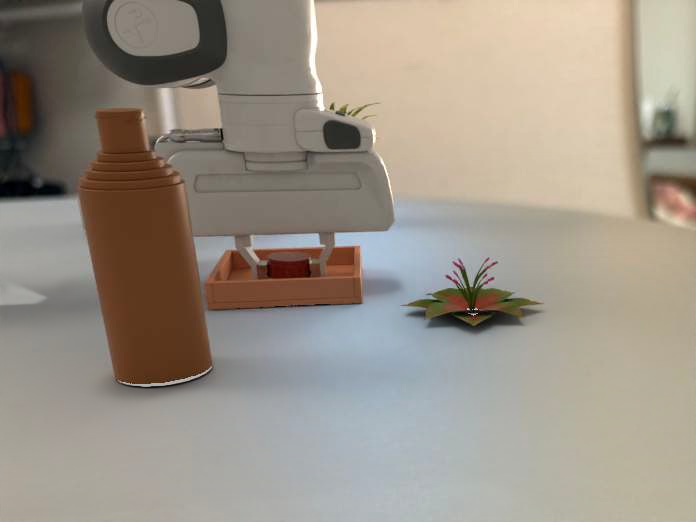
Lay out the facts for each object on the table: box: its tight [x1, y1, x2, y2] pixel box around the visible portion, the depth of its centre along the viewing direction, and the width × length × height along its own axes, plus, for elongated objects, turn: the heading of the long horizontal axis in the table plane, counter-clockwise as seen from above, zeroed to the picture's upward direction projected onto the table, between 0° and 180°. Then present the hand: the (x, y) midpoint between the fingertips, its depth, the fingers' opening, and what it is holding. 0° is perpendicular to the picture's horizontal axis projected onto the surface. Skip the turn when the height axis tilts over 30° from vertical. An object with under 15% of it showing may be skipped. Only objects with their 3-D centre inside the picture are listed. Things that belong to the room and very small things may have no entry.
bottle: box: [76, 107, 213, 384], centre depth 57 cm, size 6×6×18 cm
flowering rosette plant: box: [398, 257, 544, 327], centre depth 73 cm, size 12×12×5 cm
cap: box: [267, 251, 311, 279], centre depth 81 cm, size 4×4×2 cm
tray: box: [203, 245, 363, 311], centre depth 81 cm, size 13×13×2 cm
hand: (291, 280), depth 81 cm, fingers closed on cap, 4 cm apart
